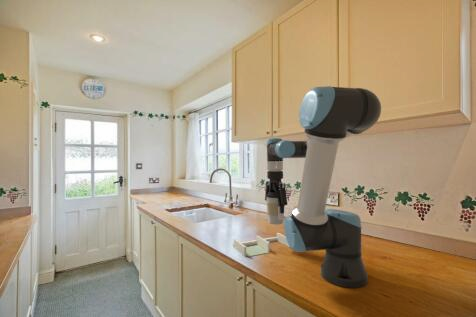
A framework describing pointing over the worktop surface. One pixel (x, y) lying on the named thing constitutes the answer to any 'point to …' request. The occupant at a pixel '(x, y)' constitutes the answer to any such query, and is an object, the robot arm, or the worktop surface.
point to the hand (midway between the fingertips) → (275, 217)
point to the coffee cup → (273, 208)
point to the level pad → (255, 250)
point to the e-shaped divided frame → (259, 243)
